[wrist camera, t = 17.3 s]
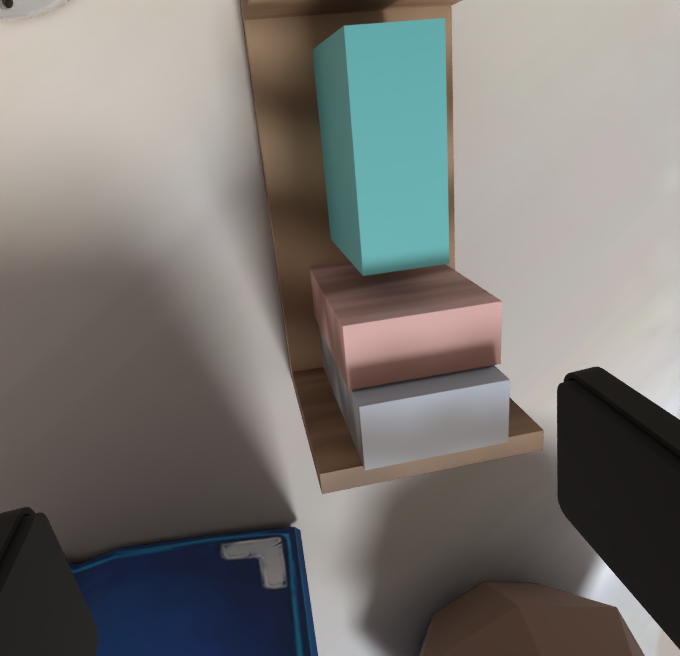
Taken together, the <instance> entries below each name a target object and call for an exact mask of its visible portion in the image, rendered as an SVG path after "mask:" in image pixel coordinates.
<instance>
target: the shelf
mask: <svg viewBox="0 0 680 656" xmlns="http://www.w3.org/2000/svg"><path fill="white" fill-rule="evenodd" d="M459 1H461V0H240V2H241V10H242V17H243V24H244V32H245V39H246V46H247V54H248V61H249V68H250V76H251V83H252V90H253V98H254V105H255V112H256V120H257V127H258V134H259V142H260V149H261V156H262V164H263V171H264V178H265V186H266V193H267V200H268V208H269V215H270V222H271V230H272V237H273V244H274V252H275V259H276V266H277V274H278V281H279V289H280V296H281V303H282V311H283V318H284V325H285V333H286V340H287V347H288V355H289V362H290V369H291V377H292V381H293V385H294V389H295V393H296V396H297V400H298V404H299V408H300V412H301V415H302V419H303V423H304V427H305V431H306V434H307V438H308V442H309V446H310V450H311V453H312V457H313V461H314V465H315V469H316V472H317V476H318V480H319V484H320V488H321V491H322V494H325V493H330V492H335V491H340V490H345V489H350V488H355V487H360V486H365V485H369V484H374V483H379V482H384V481H389V480H394V479H399V478H404V477H409V476H414V475H419V474H424V473H429V472H434V471H439V470H444V469H449V468H454V467H459V466H464V465H469V464H474V463H479V462H484V461H489V460H494V459H499V458H504V457H509V456H514V455H519V454H524V453H529V452H534V451H539V450H543V433H544V430H543V429H542V428H541V427H540V426H539V425H538V424H536V423H535V422H534V421H533V420H532V419H531V418H530V417H529V416H528V415H527V414H526V413H525V412H524V411H523V410H522V409H521V408H520V407H519V406H518V405H517V404H516V403H515V402H514V401H513V400H512V399H511V398H510V397H509V395H510V379H508V378H507V377H506V376H505V375H504V374H503V373H502V372H501V371H500V370H499V369H497V368H496V367H495V366H494V365H497V364H501V321H502V301H501V300H499V299H498V298H496V297H495V296H493V295H491V294H490V293H488V292H487V291H485V290H484V289H482V288H481V287H479V286H478V285H476V284H475V283H473V282H472V281H470V280H469V279H467V278H466V277H464V276H463V275H461V274H460V273H458V272H457V271H455V239H454V164H453V90H452V16H451V5H453V4H455V3H457V2H459ZM439 18H445V39H446V96H447V153H448V211H449V264H443V265H436V266H429V267H422V268H415V269H408V270H401V271H394V272H387V273H380V274H373V275H366V276H363V275H362V274H361V273H360V272H359V271H358V269H357V268H356V267H355V266H354V265H353V264H352V263H351V262H350V260H349V259H348V258H347V257H346V256H345V255H344V254H343V253H342V251H341V250H340V249H339V248H338V247H337V246H336V245H335V244H334V242H333V241H332V240H331V236H330V226H329V215H328V205H327V195H326V185H325V174H324V164H323V154H322V143H321V133H320V123H319V113H318V102H317V92H316V82H315V71H314V61H313V51H312V50H313V49H314V48H315V47H317V46H318V45H319V44H320V43H322V42H323V41H324V40H326V39H327V38H328V37H330V36H331V35H332V34H334V33H335V32H336V31H338V30H339V29H340V28H341V27H343V26H346V25H359V24H373V23H386V22H399V21H413V20H426V19H439Z"/></svg>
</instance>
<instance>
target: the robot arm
mask: <svg viewBox="0 0 680 656" xmlns="http://www.w3.org/2000/svg"><path fill="white" fill-rule="evenodd" d="M5 1H6V0H0V21H5V20H24V19H28V18H33V17H37V16H41V15H44V14H46V13H49V12H51V11H53V10H55V9H57V8H59V7H61V6H63V5H64V4H66V3H67V2H68V1H69V0H12V1H13V6H12V8H7V7H6V5H5ZM557 477H558V501H559V505H560V507H561V510H562V512H563V513H564V515H565V516H566V518H567V519H568V520H569V521H570V522H571V523H572V525H573V526H574V527H575V528H576V529H577V530H578V532H579V533H580V534H581V535H582V536H583V537H584V539H585V540H586V541H587V542H588V543H589V544H590V546H591V547H592V548H593V549H594V550H595V551H596V553H597V554H598V555H599V556H600V557H601V558H602V560H603V561H604V562H605V563H606V564H607V565H608V567H609V568H610V569H611V570H612V571H613V572H614V574H615V575H616V576H617V577H618V578H619V579H620V581H621V582H622V583H623V584H624V585H625V586H626V588H627V589H628V590H629V591H630V592H631V593H632V594H633V596H634V597H635V598H636V599H637V600H638V601H639V603H640V604H641V605H642V606H643V607H644V608H645V610H646V611H647V612H648V613H649V614H650V615H651V617H652V618H653V619H654V620H655V621H656V622H657V624H658V625H659V626H660V627H661V628H662V629H663V631H664V632H665V633H666V634H667V635H668V636H669V637H670V639H671V640H672V641H673V642H674V643H675V645H676V646H677V647H678V648H679V649H680V420H679V419H678V418H676V417H675V416H673V415H672V414H670V413H669V412H667V411H666V410H664V409H663V408H661V407H660V406H658V405H657V404H655V403H654V402H652V401H651V400H649V399H648V398H646V397H645V396H643V395H642V394H640V393H638V392H637V391H635V390H634V389H632V388H631V387H629V386H628V385H626V384H625V383H623V382H622V381H620V380H619V379H617V378H616V377H614V376H613V375H611V374H610V373H608V372H607V371H605V370H604V369H602V368H600V367H592V368H588V369H584V370H580V371H576V372H572V373H568V374H567V375H566V376H565V378H564V382H563V383H560V384H559V386H558V389H557ZM97 647H98V632H97V627H96V624H95V621H94V619H93V617H92V615H91V613H90V610H89V608H88V606H87V604H86V602H85V599H84V597H83V595H82V593H81V591H80V588H79V586H78V584H77V582H76V580H75V578H74V575H73V573H72V571H71V569H70V567H69V564H68V562H67V560H66V558H65V556H64V553H63V551H62V549H61V547H60V545H59V542H58V540H57V538H56V536H55V534H54V531H53V529H52V527H51V525H50V523H49V520H48V519H47V517H46V515H45V514H44V513H36V514H35V512H34V511H33V510H32V509H31V508H29V507H24V508H20V509H16V510H12V511H8V512H4V513H0V656H96V652H97Z"/></svg>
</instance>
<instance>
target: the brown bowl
mask: <svg viewBox="0 0 680 656" xmlns="http://www.w3.org/2000/svg"><path fill="white" fill-rule="evenodd" d="M419 656H645V655H644V654H643V652H642V650H641V648H640V647H639V645H638V643H637V642H636V640H635V638H634V636H633V635H632V633H631V631H630V629H629V628H628V626H627V624H626V623H625V621H624V619H623V617H622V616H621V614H620V612H619V611H618V609H617V607H614V606H610V605H607V604H603V603H600V602H597V601H593V600H590V599H587V598H583V597H580V596H576V595H573V594H570V593H566V592H563V591H560V590H556V589H553V588H549V587H546V586H543V585H539V584H536V583H516V582H482V583H480V584H478V585H477V586H475V587H474V588H472V589H471V590H469V591H467V592H466V593H464V594H463V595H461V596H460V597H458V598H457V599H455V600H453V601H452V602H450V603H449V604H447V605H446V606H444V607H442V608H441V609H439V610H438V611H436V612H435V613H433V616H432V619H431V622H430V625H429V628H428V630H427V633H426V636H425V639H424V642H423V645H422V647H421V650H420V653H419Z"/></svg>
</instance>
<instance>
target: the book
mask: <svg viewBox="0 0 680 656" xmlns="http://www.w3.org/2000/svg"><path fill="white" fill-rule="evenodd" d="M68 564H69V567H70V569H71V571H72V573H73V575H74V578H75V580H76V582H77V584H78V586H79V588H80V591H81V593H82V595H83V597H84V599H85V602H86V604H87V606H88V608H89V610H90V613H91V615H92V617H93V619H94V621H95V624H96V627H97V632H98V647H97V652H96V656H318V652H317V645H316V638H315V631H314V624H313V617H312V610H311V603H310V596H309V589H308V582H307V575H306V568H305V561H304V554H303V547H302V540H301V533H300V530H299V529H297V528H296V527H291V528H281V529H271V530H261V531H251V532H240V533H230V534H220V535H210V536H203V537H196V538H189V539H182V540H175V541H169V542H162V543H155V544H148V545H141V546H134V547H127V548H120V549H116V550H114V551H111V552H109V553H106V554H104V555H101V556H99V557H96V558H94V559H92V560H89V561H87V562H84V563H82V564H70V563H68Z"/></svg>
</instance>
